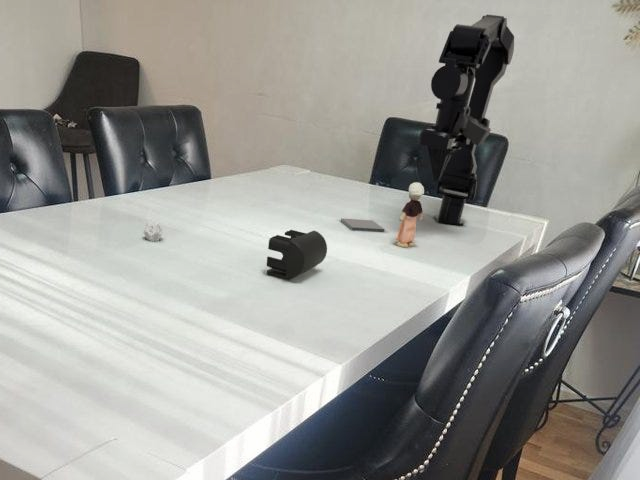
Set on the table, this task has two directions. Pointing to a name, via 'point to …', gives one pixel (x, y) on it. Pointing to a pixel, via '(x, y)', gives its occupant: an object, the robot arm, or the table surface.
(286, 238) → the end cap
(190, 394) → the table surface
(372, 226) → the slate coaster
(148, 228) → the whitish grey rough lump
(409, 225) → the grandmother figurine
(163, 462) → the table surface
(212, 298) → the table surface
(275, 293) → the table surface
